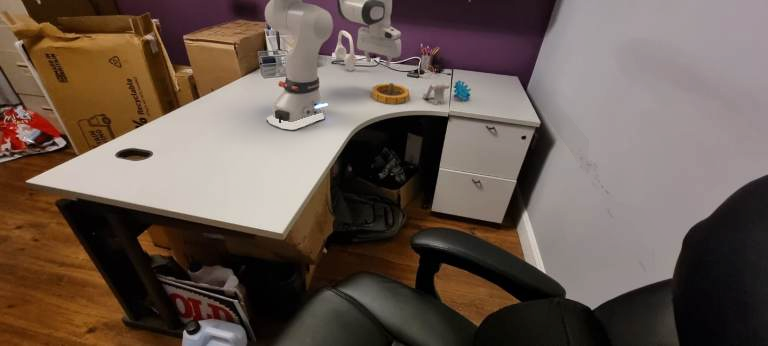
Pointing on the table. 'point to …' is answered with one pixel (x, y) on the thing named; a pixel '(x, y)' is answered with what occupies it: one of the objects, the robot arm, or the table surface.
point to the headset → (341, 51)
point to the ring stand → (390, 91)
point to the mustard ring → (390, 99)
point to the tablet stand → (436, 92)
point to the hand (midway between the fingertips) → (377, 63)
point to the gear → (462, 91)
